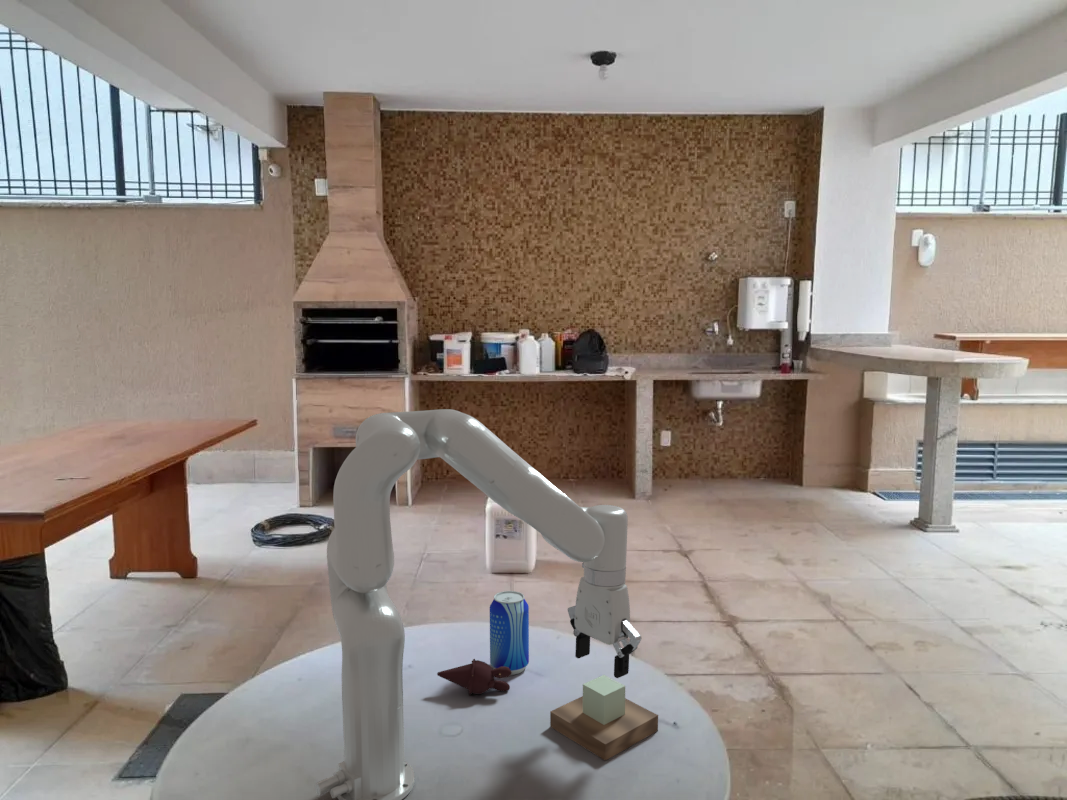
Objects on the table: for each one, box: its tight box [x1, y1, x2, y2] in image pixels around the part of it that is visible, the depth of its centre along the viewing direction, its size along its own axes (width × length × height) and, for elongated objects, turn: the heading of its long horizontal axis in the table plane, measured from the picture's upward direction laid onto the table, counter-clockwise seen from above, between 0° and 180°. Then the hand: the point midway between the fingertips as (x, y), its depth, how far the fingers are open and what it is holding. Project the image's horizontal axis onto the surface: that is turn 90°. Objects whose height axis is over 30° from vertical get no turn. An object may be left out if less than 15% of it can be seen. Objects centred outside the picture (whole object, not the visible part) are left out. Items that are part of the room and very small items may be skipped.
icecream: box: [436, 658, 512, 696], centre depth 148 cm, size 7×7×15 cm
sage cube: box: [582, 674, 626, 725], centre depth 135 cm, size 6×6×6 cm
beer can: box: [489, 590, 530, 676], centre depth 158 cm, size 8×8×16 cm
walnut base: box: [549, 695, 659, 762], centre depth 135 cm, size 14×14×3 cm
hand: (601, 665), depth 134 cm, fingers open, 9 cm apart
